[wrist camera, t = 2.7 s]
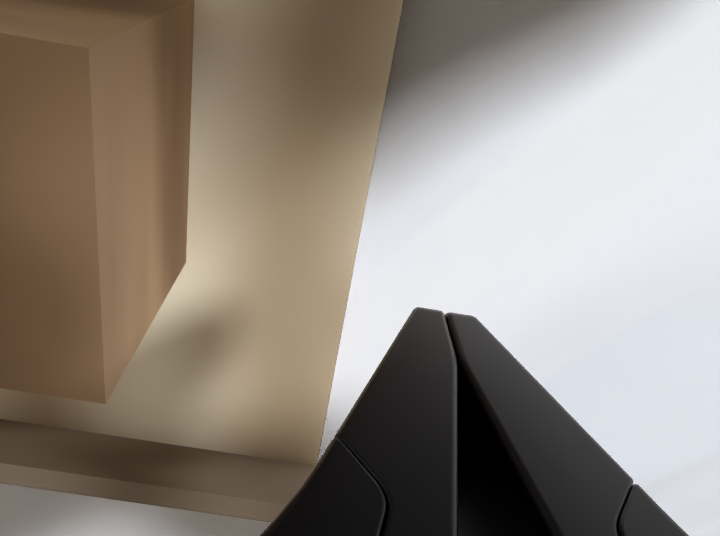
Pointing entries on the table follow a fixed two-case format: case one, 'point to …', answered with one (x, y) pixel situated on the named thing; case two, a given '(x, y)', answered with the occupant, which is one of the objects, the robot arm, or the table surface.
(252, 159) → the trap board
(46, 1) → the walnut block
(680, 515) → the table surface
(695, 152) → the table surface
